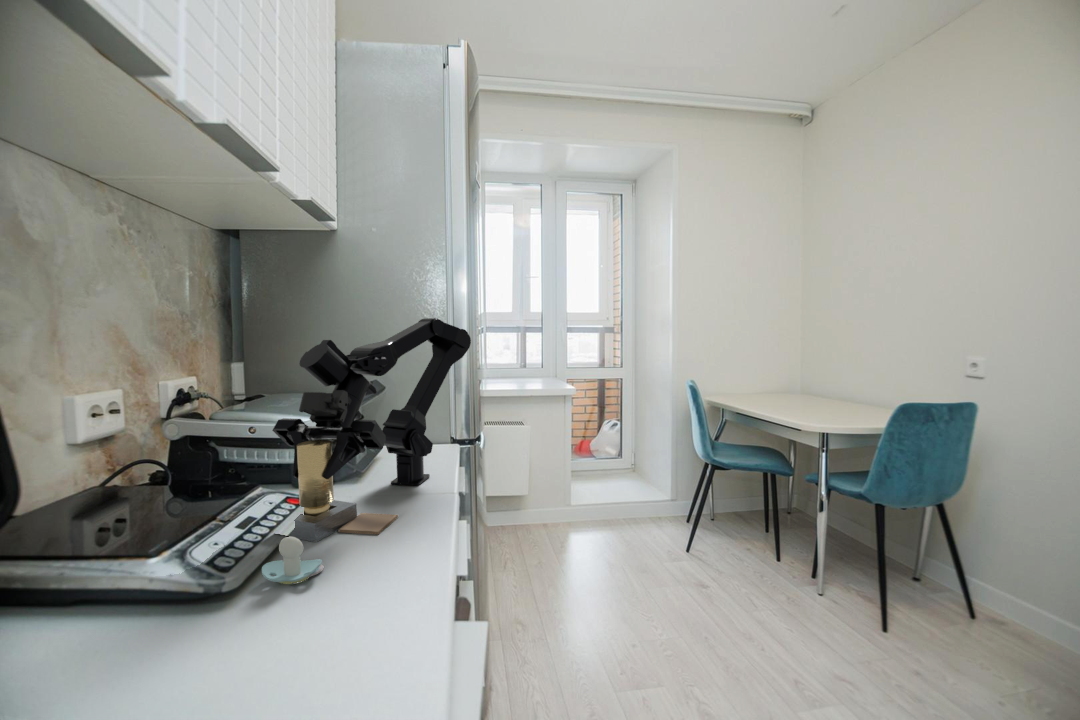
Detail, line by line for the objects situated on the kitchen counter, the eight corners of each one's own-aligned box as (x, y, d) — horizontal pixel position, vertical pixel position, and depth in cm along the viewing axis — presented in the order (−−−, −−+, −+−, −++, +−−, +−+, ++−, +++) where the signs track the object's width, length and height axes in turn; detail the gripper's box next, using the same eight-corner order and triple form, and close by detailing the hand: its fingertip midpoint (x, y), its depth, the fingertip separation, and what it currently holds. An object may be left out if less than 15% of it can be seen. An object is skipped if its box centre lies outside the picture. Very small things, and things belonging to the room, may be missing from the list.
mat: (361, 515, 83) (361, 512, 83) (398, 517, 82) (398, 514, 82) (338, 532, 76) (338, 529, 76) (378, 534, 75) (378, 531, 75)
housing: (317, 513, 84) (317, 497, 84) (357, 520, 81) (356, 503, 81) (273, 534, 76) (272, 516, 76) (315, 542, 73) (314, 523, 73)
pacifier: (279, 568, 66) (256, 590, 60) (278, 524, 65) (254, 542, 59) (332, 566, 66) (314, 588, 60) (331, 522, 66) (313, 540, 60)
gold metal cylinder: (308, 512, 81) (305, 440, 80) (339, 511, 81) (336, 439, 80) (294, 524, 76) (290, 447, 75) (327, 523, 76) (323, 446, 75)
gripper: (277, 373, 82) (230, 451, 72) (375, 373, 79) (341, 454, 69) (308, 409, 91) (269, 484, 80) (397, 411, 88) (370, 488, 78)
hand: (310, 477), depth 77 cm, fingers closed on gold metal cylinder, 5 cm apart
